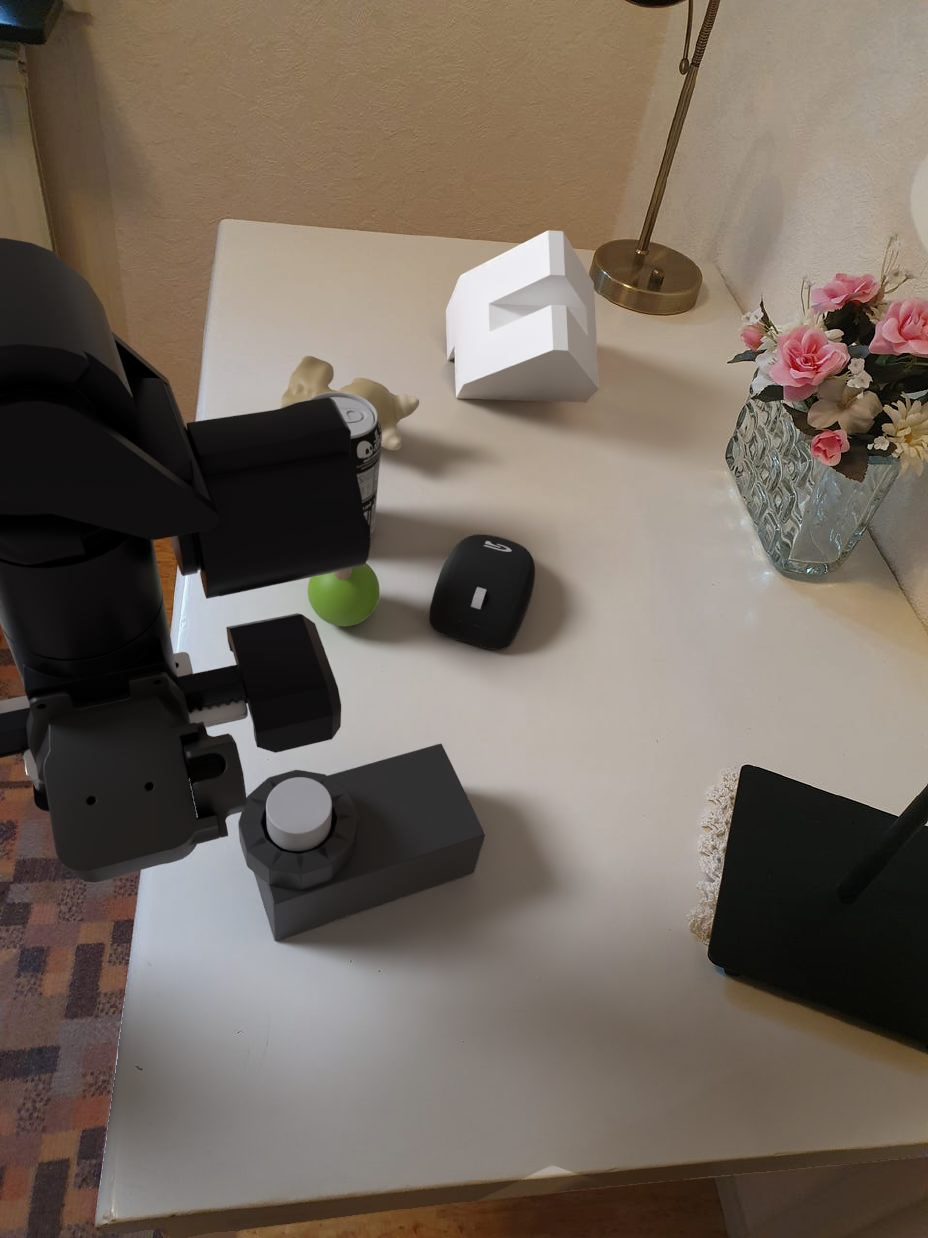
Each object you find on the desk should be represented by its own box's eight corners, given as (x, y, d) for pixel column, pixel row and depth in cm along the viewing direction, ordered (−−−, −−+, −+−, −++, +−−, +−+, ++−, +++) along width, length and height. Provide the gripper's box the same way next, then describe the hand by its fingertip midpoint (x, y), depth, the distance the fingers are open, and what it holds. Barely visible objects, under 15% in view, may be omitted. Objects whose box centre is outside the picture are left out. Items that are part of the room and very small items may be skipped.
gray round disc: (276, 860, 51) (276, 842, 49) (259, 806, 53) (258, 787, 52) (339, 840, 52) (340, 822, 51) (319, 788, 54) (320, 769, 53)
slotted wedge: (448, 410, 99) (484, 346, 81) (445, 310, 100) (480, 225, 82) (573, 414, 101) (634, 353, 84) (569, 316, 102) (628, 235, 85)
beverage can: (287, 510, 80) (286, 392, 71) (360, 500, 82) (368, 384, 73) (307, 563, 76) (308, 444, 67) (383, 550, 78) (394, 434, 69)
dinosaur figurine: (308, 344, 87) (416, 358, 81) (335, 400, 92) (438, 417, 87) (262, 405, 83) (372, 424, 78) (294, 460, 89) (398, 481, 84)
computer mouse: (543, 561, 80) (552, 526, 77) (511, 661, 72) (520, 626, 69) (460, 537, 80) (466, 502, 78) (419, 633, 72) (424, 598, 69)
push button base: (262, 946, 54) (258, 892, 49) (232, 845, 58) (226, 785, 53) (474, 873, 59) (491, 817, 54) (433, 784, 63) (445, 724, 58)
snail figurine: (300, 646, 70) (300, 528, 61) (312, 586, 74) (315, 467, 65) (372, 654, 70) (383, 538, 61) (380, 594, 75) (391, 477, 66)
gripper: (-231, 861, 27) (-66, 1041, 38) (389, 714, 33) (369, 908, 44) (-203, 588, 33) (-70, 812, 45) (308, 508, 39) (309, 723, 51)
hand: (140, 815), depth 46 cm, fingers closed
